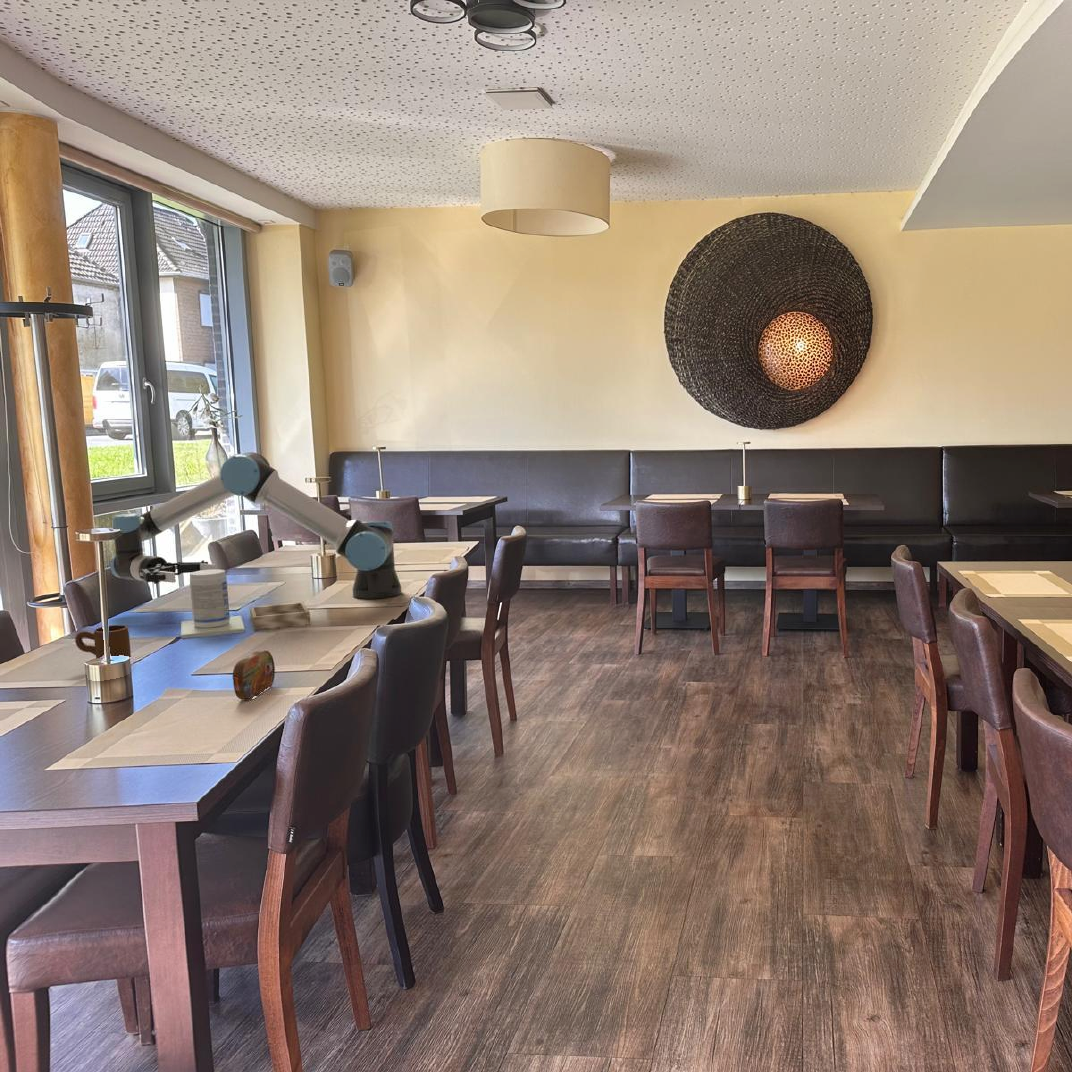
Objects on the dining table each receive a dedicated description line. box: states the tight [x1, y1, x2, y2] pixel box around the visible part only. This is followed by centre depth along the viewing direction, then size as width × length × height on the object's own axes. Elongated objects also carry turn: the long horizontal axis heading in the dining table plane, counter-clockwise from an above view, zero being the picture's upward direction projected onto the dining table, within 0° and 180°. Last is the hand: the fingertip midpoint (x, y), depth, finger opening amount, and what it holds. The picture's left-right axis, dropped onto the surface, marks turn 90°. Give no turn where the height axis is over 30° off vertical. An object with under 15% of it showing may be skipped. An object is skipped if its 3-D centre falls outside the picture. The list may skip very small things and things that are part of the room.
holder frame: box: [249, 601, 311, 630], centre depth 286 cm, size 15×15×4 cm
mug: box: [74, 624, 132, 660], centre depth 241 cm, size 12×8×9 cm, turn 97°
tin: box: [232, 650, 276, 701], centre depth 215 cm, size 15×3×8 cm, turn 170°
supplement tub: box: [189, 568, 231, 628], centre depth 279 cm, size 10×10×15 cm
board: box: [180, 615, 245, 640], centre depth 280 cm, size 16×18×1 cm
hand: (195, 573), depth 286 cm, fingers open, 13 cm apart
